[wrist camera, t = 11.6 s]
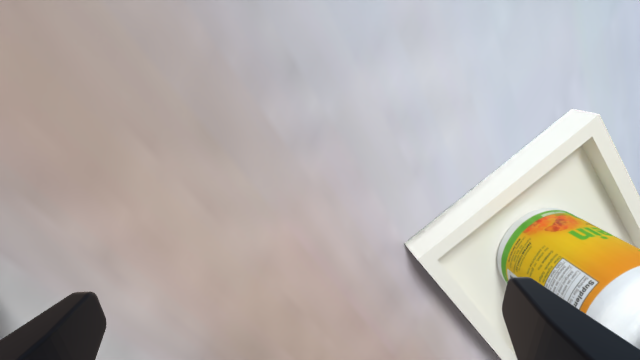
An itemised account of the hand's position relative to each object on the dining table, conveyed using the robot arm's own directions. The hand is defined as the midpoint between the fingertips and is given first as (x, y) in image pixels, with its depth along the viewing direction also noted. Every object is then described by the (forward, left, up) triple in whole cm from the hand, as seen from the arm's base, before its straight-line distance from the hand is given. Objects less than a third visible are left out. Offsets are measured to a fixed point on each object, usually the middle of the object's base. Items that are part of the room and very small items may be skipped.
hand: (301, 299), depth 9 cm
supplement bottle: (+8, -14, -11) cm, 20 cm away
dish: (+8, -15, -12) cm, 20 cm away
